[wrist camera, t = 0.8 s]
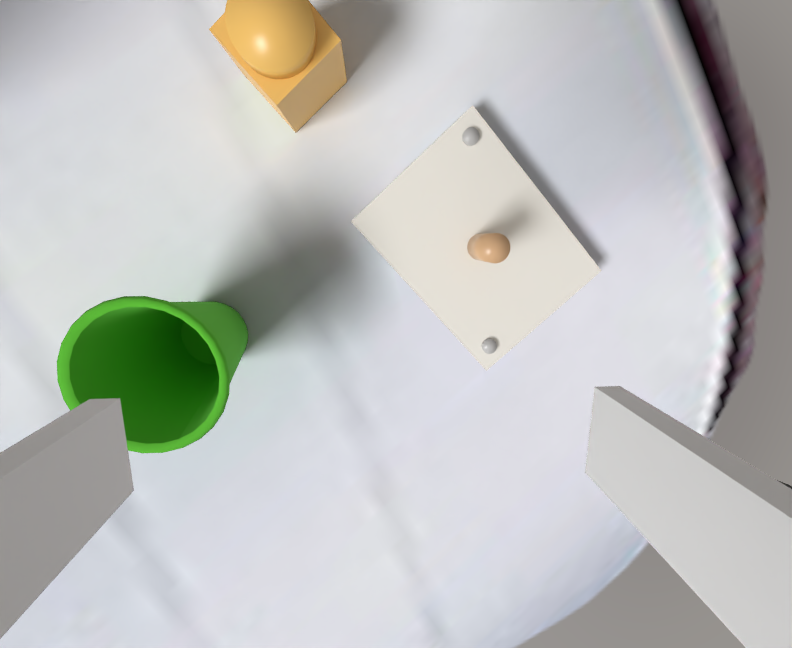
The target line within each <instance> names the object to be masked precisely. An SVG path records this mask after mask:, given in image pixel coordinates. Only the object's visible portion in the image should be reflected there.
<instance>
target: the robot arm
mask: <svg viewBox="0 0 792 648" xmlns="http://www.w3.org/2000/svg"><path fill="white" fill-rule="evenodd" d="M585 473H586V474H587V475H588V477H589V478H590V479H591V480H592V481H593V482H594V483H595V484H596V485H597V486H598V487H599V488H600V490H601V491H602V492H603V493H604V494H605V495H606V496H607V497H608V498H609V499H610V500H611V502H612V503H613V504H614V505H615V506H616V507H617V508H618V509H619V510H620V511H621V512H622V514H623V515H624V516H625V517H626V518H627V519H628V520H629V521H630V522H631V523H632V524H633V525H634V527H635V528H636V529H637V530H638V531H639V532H640V533H641V534H642V535H643V536H644V537H645V539H646V540H647V541H648V542H649V543H650V544H651V545H652V546H653V547H654V548H655V549H656V551H658V553H659V554H660V555H661V556H662V557H663V558H664V559H665V560H666V561H667V562H668V563H669V564H670V566H671V567H672V568H673V569H674V570H675V571H676V572H677V573H678V574H679V575H680V577H681V578H682V579H683V580H684V581H685V582H686V583H687V584H688V585H689V586H690V587H691V588H692V589H693V590H694V592H695V593H696V594H697V595H698V596H699V597H700V598H701V599H702V600H703V602H704V603H705V604H706V605H707V606H708V607H709V608H710V609H711V610H712V611H713V613H715V615H716V616H717V617H718V618H719V619H720V620H721V621H722V622H723V623H724V624H725V626H726V627H727V628H728V629H729V630H730V631H731V632H732V633H733V634H734V635H735V636H736V638H737V639H738V640H739V641H740V642H741V643H742V644H743V645H744V646H745V647H746V648H792V487H791V486H790V485H788V484H785V483H783V482H780V481H778V480H776V479H774V478H772V477H771V476H769V475H767V474H766V473H764V472H762V471H761V470H759V469H757V468H755V467H754V466H752V465H751V464H749V463H747V462H746V461H744V460H742V459H740V458H739V457H737V456H735V455H734V454H732V453H730V452H728V451H727V450H726V449H724V448H722V447H720V446H719V445H717V444H716V443H714V442H712V441H711V440H709V439H707V438H706V437H704V436H702V435H701V434H699V433H697V432H696V431H694V430H692V429H691V428H689V427H687V426H686V425H684V424H682V423H680V422H679V421H677V420H675V419H674V418H672V417H670V416H669V415H667V414H665V413H664V412H662V411H660V410H659V409H657V408H655V407H654V406H652V405H650V404H649V403H647V402H645V401H644V400H642V399H640V398H639V397H637V396H635V395H634V394H632V393H630V392H629V391H627V390H625V389H624V388H622V387H620V386H608V387H594V396H593V405H592V414H591V423H590V432H589V440H588V449H587V458H586V467H585ZM133 491H134V488H133V482H132V475H131V468H130V462H129V455H128V448H127V442H126V435H125V428H124V421H123V415H122V408H121V401H120V398H113V399H89V400H87V401H86V402H84V403H82V404H81V405H79V406H77V407H76V408H74V409H72V410H71V411H69V412H67V413H66V414H64V415H62V416H61V417H59V418H57V419H56V420H54V421H52V422H51V423H49V424H47V425H46V426H44V427H42V428H41V429H39V430H38V431H36V432H34V433H33V434H31V435H29V436H28V437H26V438H24V439H23V440H21V441H19V442H18V443H16V444H14V445H13V446H11V447H9V448H8V449H6V450H4V451H3V452H1V453H0V639H1V638H2V636H3V635H4V634H5V633H6V632H7V631H8V630H9V629H10V628H11V626H12V625H13V624H14V623H15V622H16V621H17V620H18V619H19V618H20V616H21V615H22V614H23V613H24V612H25V611H26V610H27V609H28V608H29V606H30V605H31V604H32V603H33V602H34V601H35V600H36V599H37V598H38V596H39V595H40V594H41V593H42V592H43V591H44V590H45V589H46V588H47V586H48V585H49V584H50V583H51V582H52V581H53V580H54V579H55V578H56V576H57V575H58V574H59V573H60V572H61V571H62V570H63V569H64V568H65V566H66V565H67V564H68V563H69V562H70V561H71V560H72V559H73V558H74V556H75V555H76V554H77V553H78V552H79V551H80V550H81V549H82V548H83V546H84V545H85V544H86V543H87V542H88V541H89V540H90V539H91V538H92V536H93V535H94V534H95V533H96V532H97V531H98V530H99V529H100V528H101V526H102V525H103V524H104V523H105V522H106V521H107V520H108V519H109V518H110V516H111V515H112V514H113V513H114V512H115V511H116V510H117V509H118V508H119V506H120V505H121V504H122V503H123V502H124V501H125V500H126V499H127V498H128V496H129V495H130V494H131V493H132V492H133Z"/></svg>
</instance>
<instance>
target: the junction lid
mask: <svg viewBox="0 0 792 648" xmlns="http://www.w3.org/2000/svg"><path fill="white" fill-rule="evenodd" d="M351 222H352V223H353V225H354V226H355V227H356V228H357V229H358V230H359V231H360V232H361V233H362V234H363V236H364V237H365V238H366V239H367V240H368V241H369V242H370V243H371V244H372V245H373V247H374V248H375V249H376V250H377V251H378V252H379V253H380V254H381V255H382V256H383V258H384V259H385V260H386V261H387V262H388V263H389V264H390V265H391V266H392V267H393V269H394V270H395V271H396V272H397V273H398V274H399V275H400V276H401V277H402V278H403V280H404V281H405V282H406V283H407V284H408V285H409V286H410V287H411V288H412V289H413V291H414V292H415V293H416V294H417V295H418V296H419V297H420V298H421V299H422V300H423V302H424V303H425V304H426V305H427V306H428V307H429V308H430V309H431V310H432V311H433V313H434V314H435V315H436V316H437V317H438V318H439V319H440V320H441V321H442V322H443V324H444V325H445V326H446V327H447V328H448V329H449V330H450V331H451V332H452V333H453V335H454V336H455V337H456V338H457V339H458V340H459V341H460V342H461V343H462V344H463V346H464V347H465V348H466V349H467V350H468V351H469V352H470V353H471V354H472V355H473V357H474V358H475V359H476V360H477V361H478V362H479V363H480V364H481V365H482V366H483V368H484V369H485V370H486V371H487V370H488V369H489V368H490V367H491V366H493V365H494V364H495V363H496V362H497V361H498V360H499V359H501V358H502V357H503V356H504V355H505V354H506V353H508V352H509V351H510V350H511V349H512V348H513V347H514V346H516V345H517V344H518V343H519V342H520V341H521V340H522V339H524V338H525V337H526V336H527V335H528V334H529V333H531V332H532V331H533V330H534V329H535V328H536V327H537V326H539V325H540V324H541V323H542V322H543V321H544V320H546V319H547V318H548V317H549V316H550V315H551V314H552V313H554V312H555V311H556V310H557V309H558V308H559V307H561V306H562V305H563V304H564V303H565V302H566V301H567V300H569V299H570V298H571V297H572V296H573V295H574V294H575V293H577V292H578V291H579V290H580V289H581V288H582V287H584V286H585V285H586V284H587V283H588V282H589V281H590V280H592V279H593V278H594V277H595V276H596V275H597V274H599V273H600V272H601V269H600V268H599V267H598V266H597V264H596V263H595V262H594V260H593V259H592V258H591V257H590V255H589V254H588V253H587V251H586V250H585V249H584V248H583V246H582V245H581V244H580V242H579V241H578V240H577V239H576V237H575V236H574V235H573V233H572V232H571V231H570V230H569V228H568V227H567V226H566V224H565V223H564V222H563V221H562V219H561V218H560V217H559V215H558V214H557V213H556V212H555V210H554V209H553V208H552V206H551V205H550V204H549V203H548V201H547V200H546V199H545V197H544V196H543V195H542V194H541V192H540V191H539V190H538V188H537V187H536V186H535V185H534V183H533V182H532V181H531V179H530V178H529V177H528V176H527V174H526V173H525V172H524V170H523V169H522V168H521V167H520V165H519V164H518V163H517V161H516V160H515V159H514V158H513V156H512V155H511V154H510V152H509V151H508V150H507V148H506V147H505V146H504V145H503V143H502V142H501V141H500V139H499V138H498V137H497V136H496V134H495V133H494V132H493V130H492V129H491V128H490V127H489V125H488V124H487V123H486V121H485V120H484V119H483V118H482V116H481V115H480V114H479V112H478V111H477V110H476V109H475V107H474V106H472V107H470V108H469V109H468V110H467V111H466V112H465V113H464V114H463V115H462V116H461V117H460V118H459V119H458V120H457V121H456V122H455V123H454V124H453V125H452V126H451V127H449V128H448V129H447V130H446V131H445V132H444V133H443V134H442V135H441V136H440V137H439V138H438V139H437V140H436V141H435V142H434V143H433V144H432V145H431V146H429V147H428V148H427V149H426V150H425V151H424V152H423V153H422V154H421V155H420V156H419V157H418V158H417V159H416V160H415V161H414V162H413V163H412V164H411V165H410V166H408V167H407V168H406V169H405V170H404V171H403V172H402V173H401V174H400V175H399V176H398V177H397V178H396V179H395V180H394V181H393V182H392V183H391V184H390V185H388V186H387V187H386V188H385V189H384V190H383V191H382V192H381V193H380V194H379V195H378V196H377V197H376V198H375V199H374V200H373V201H372V202H371V203H370V204H368V205H367V206H366V207H365V208H364V209H363V210H362V211H361V212H360V213H359V214H358V215H357V216H356V217H355V218H354V219H353V220H352V221H351Z"/></svg>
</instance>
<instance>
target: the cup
mask: <svg viewBox="0 0 792 648" xmlns="http://www.w3.org/2000/svg"><path fill="white" fill-rule="evenodd" d="M247 342H248V331H247V326H246V324H245V322H244V320H243V318H242V317H241V316H240V315H239V313H238V312H237V311H235V310H234V309H233V308H232V307H230V306H228V305H225V304H223V303H219V302H168V301H164V300H160V299H155V298H151V297H146V296H124V297H120V298H116V299H112V300H108V301H104V302H102V303H100V304H98V305H97V306H95V307H93V308H91V309H89V310H87V311H86V312H85V313H84V314H83V315H82V316H81V317H80V318H79V319H77V320H76V321H75V322H74V323H73V324H72V326H71V327H70V329H69V331H68V333H67V334H66V336H65V338H64V340H63V341H62V343H61V347H60V351H59V356H58V360H57V374H58V383H59V386H60V389H61V393H62V396H63V399H64V401H65V402H66V404H67V406H68V407H69V409H70V411H71V410H72V409H74V408H76V407H77V406H79V405H81V404H82V403H84V402H86V401H87V400H89V399H113V398H120V401H121V408H122V415H123V421H124V428H125V435H126V442H127V448H128V450H129V451H134V452H140V453H163V452H168V451H172V450H176V449H180V448H183V447H185V446H187V445H189V444H191V443H193V442H195V441H197V440H199V439H200V438H202V437H203V436H204V435H205V434H206V433H207V432H208V431H209V430H211V429H212V428H213V427H214V425H215V424H216V422H217V421H218V419H219V418H220V416H221V415H222V413H223V412H224V409H225V405H226V402H227V399H228V396H229V384H230V382H231V380H232V377H233V375H234V373H235V371H236V368H237V366H238V364H239V362H240V360H241V357H242V355H243V353H244V351H245V348H246V345H247Z"/></svg>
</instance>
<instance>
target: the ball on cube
mask: <svg viewBox="0 0 792 648" xmlns="http://www.w3.org/2000/svg"><path fill="white" fill-rule="evenodd" d="M209 30H210V31H211V33H212V34H213V35H214V36H215V38H216V39H217V40H218V42H219V43H220V44H221V46H222V47H223V48H224V49H225V51H226V52H227V53H228V55H229V56H230V57H231V59H232V60H233V61H234V62H235V64H236V65H237V66H238V68H239V69H240V70H241V71H242V73H243V74H244V75H245V76H246V77H247V79H248V80H249V81H250V82H251V83H252V84H253V85H254V86H255V87H256V89H257V90H258V91H259V92H260V93H261V94H262V95H263V96H264V98H265V99H266V100H267V101H268V102H269V103H270V104H271V105H272V107H273V108H274V109H275V110H276V111H277V112H278V113H279V114H280V115H281V117H282V118H283V119H284V120H285V121H286V122H287V123H288V124H289V126H290V127H291V128H292V129H293V130H294V131H295V132H297V131H298V130H299V129H300V128H301V127H302V126H303V125H304V124H305V123H306V122H307V121H308V120H309V119H310V118H311V117H312V116H313V115H314V114H315V113H316V112H317V111H318V110H319V109H320V108H321V107H322V106H323V105H324V104H325V103H326V102H327V101H328V100H329V99H330V98H331V97H332V96H333V95H334V94H335V93H336V92H337V91H338V90H339V89H340V88H341V87H342V86H343V85H344V84H345V83H346V82H347V78H346V71H345V64H344V57H343V50H342V43H341V39H340V38H339V37H338V36H337V35H336V33H335V32H334V31H333V30H332V28H331V27H330V26H329V25H328V24H327V22H326V21H325V20H324V19H323V17H322V16H321V15H320V14H319V13H318V11H317V10H316V9H315V8H314V7H313V5H312V4H311V3H310V2H309V0H227V4H226V9H225V13H224V14H223V15H222V16H221V17H220V18H219V19H218V20H217V21H216V22H215V23H214V25H213V26H212V27H211V28H210V29H209Z"/></svg>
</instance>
